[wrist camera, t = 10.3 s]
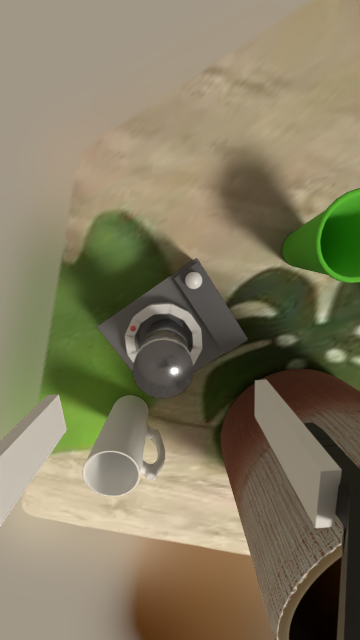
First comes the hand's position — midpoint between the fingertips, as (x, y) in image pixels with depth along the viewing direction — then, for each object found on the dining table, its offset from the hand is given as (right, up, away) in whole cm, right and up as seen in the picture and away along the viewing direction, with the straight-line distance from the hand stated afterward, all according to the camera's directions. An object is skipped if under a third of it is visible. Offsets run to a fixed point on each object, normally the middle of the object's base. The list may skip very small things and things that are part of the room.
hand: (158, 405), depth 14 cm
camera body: (0, +5, +20) cm, 20 cm away
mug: (-6, -11, +23) cm, 26 cm away
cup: (+19, +16, +18) cm, 31 cm away
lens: (-1, +3, +15) cm, 15 cm away
